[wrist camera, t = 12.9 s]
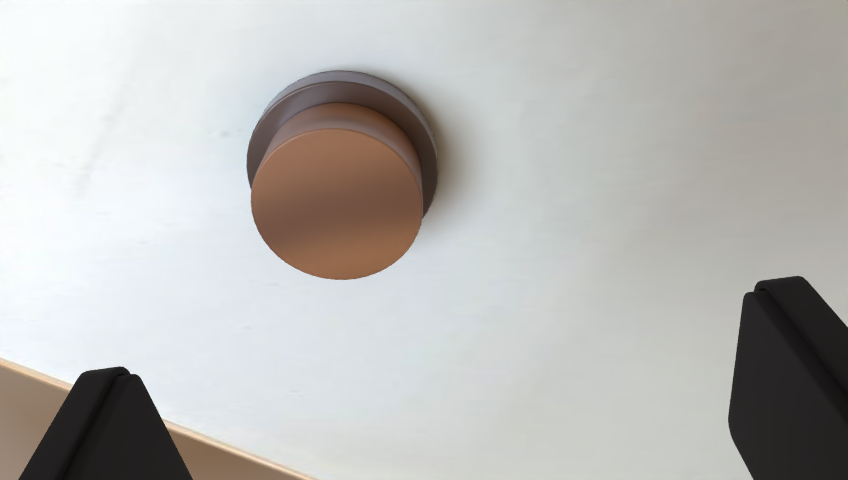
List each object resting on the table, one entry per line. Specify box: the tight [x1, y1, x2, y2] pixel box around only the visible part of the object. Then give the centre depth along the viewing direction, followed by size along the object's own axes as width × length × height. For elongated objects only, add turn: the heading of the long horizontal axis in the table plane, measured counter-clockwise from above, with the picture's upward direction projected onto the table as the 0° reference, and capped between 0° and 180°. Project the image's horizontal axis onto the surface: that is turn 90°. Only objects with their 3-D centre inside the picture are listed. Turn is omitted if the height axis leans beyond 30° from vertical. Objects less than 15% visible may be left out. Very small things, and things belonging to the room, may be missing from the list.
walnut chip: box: [247, 71, 438, 219], centre depth 31 cm, size 8×8×2 cm
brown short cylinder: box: [251, 103, 423, 280], centre depth 29 cm, size 7×7×3 cm
